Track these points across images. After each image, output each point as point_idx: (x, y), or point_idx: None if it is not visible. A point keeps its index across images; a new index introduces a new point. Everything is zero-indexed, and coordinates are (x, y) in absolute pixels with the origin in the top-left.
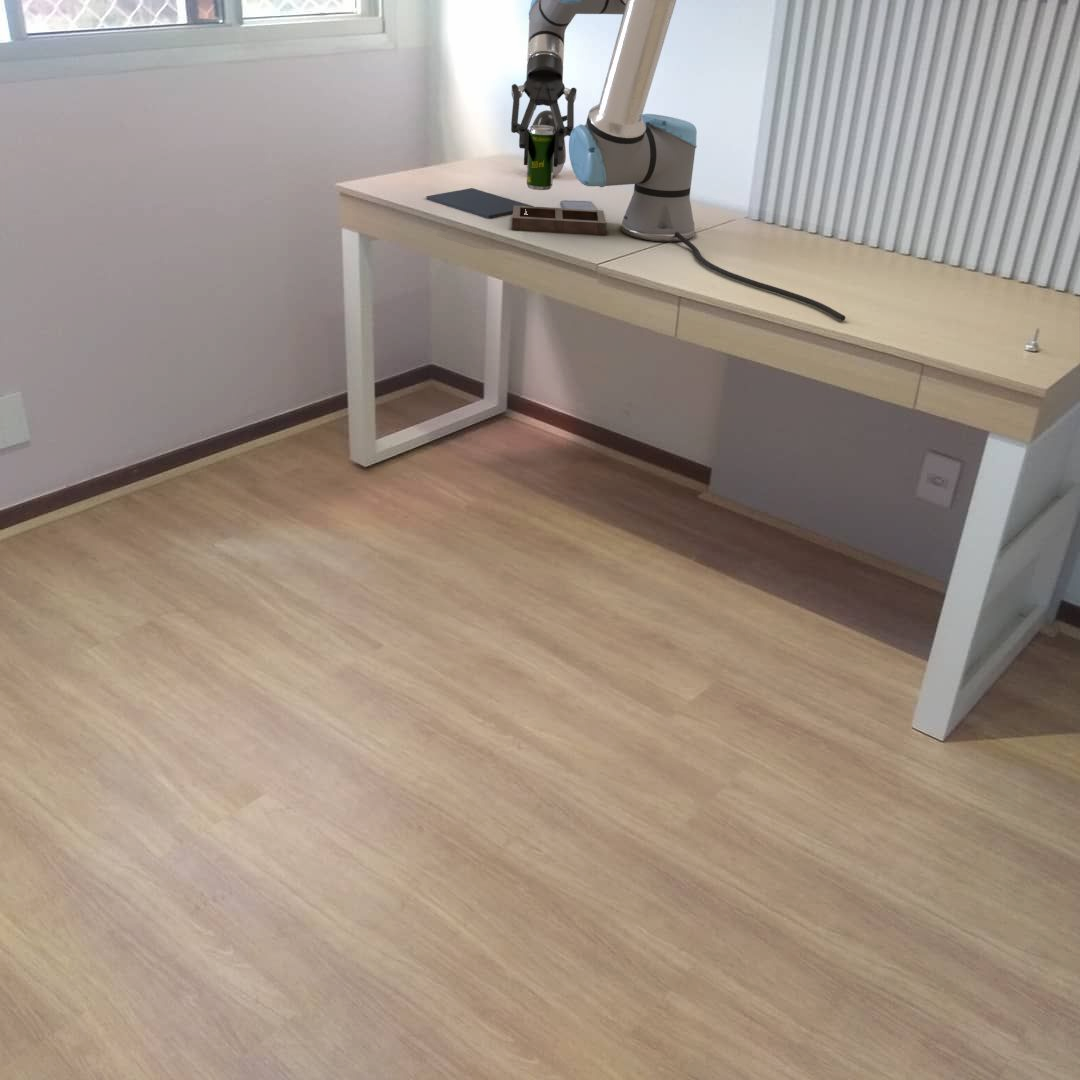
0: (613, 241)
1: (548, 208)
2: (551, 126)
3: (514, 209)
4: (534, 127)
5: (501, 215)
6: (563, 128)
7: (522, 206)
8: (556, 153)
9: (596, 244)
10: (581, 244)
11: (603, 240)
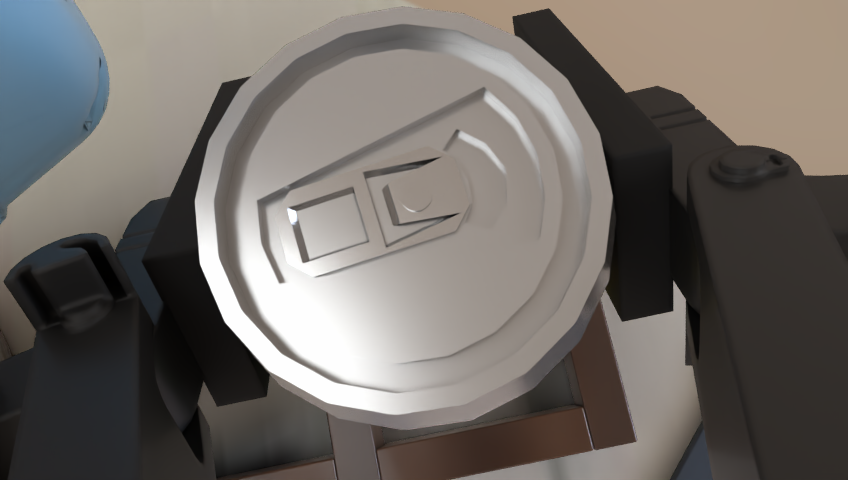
0: (58, 189)
1: (417, 455)
2: (263, 341)
3: (604, 342)
4: (518, 106)
5: (694, 436)
6: (45, 246)
7: (578, 437)
8: (228, 101)
9: (130, 109)
10: (195, 80)
11: (104, 186)
